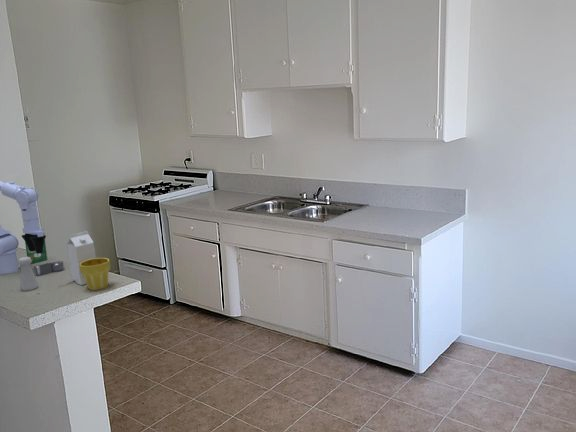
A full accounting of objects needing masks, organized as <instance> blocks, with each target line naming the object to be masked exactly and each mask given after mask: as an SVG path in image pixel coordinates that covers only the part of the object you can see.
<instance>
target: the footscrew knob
mask: <svg viewBox="0 0 576 432" xmlns="http://www.w3.org/2000/svg"><path fill="white" fill-rule="evenodd" d="M64 270H65V265H64V261H60V260H59V261H54V262H47V263H43V264H40V265H39V264H38V265H34V275H35V277H36V276H37V277H38V276H39V277H40V276H42V275H46V274H50V273H58V272H63V271H64Z"/></svg>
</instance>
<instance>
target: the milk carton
mask: <svg viewBox="0 0 576 432" xmlns="http://www.w3.org/2000/svg"><path fill="white" fill-rule="evenodd" d="M94 243H95V242H94V240H93V239H92V238H91V236H90V234H89V231H87V230H85V231H81V232H77V233H73V234H72V233H71V234H69V239H68V241H67V243H66V247H67V253H68V254H67V255H68V260H69V266H70V267H69V268H70V274H71V279H72V283H74V284H77V285H80V286H83V285H87V283H86V280H85V278H84V276H83V274H81V271H80V266H79V264H80V263H81V262H83V261H85V260H89V259H94V258H97V257H96V250H95V244H94Z"/></svg>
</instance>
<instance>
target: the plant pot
mask: <svg viewBox="0 0 576 432" xmlns="http://www.w3.org/2000/svg"><path fill="white" fill-rule="evenodd" d="M79 266H80V271H81V274H83V276H84V278H85V280H86V283H87V284H86V285H87V286H86V287H88V289H89V290H90V291H100V290H103V289H106V288H107V287H108V285H109V271H110V269H111V261H110V259H109V257H108V258H107V257H96V258H94V259H89V260H85V261H83V262H81V263H80V264H79Z"/></svg>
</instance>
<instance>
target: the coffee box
mask: <svg viewBox="0 0 576 432" xmlns="http://www.w3.org/2000/svg"><path fill="white" fill-rule="evenodd" d="M43 235H45V233H44V232H43ZM24 242H25V241H24ZM24 245H25V250H26V251H25V252H26V257H30V258H31V260H32V263H30V264H31V265H35V264H38V263H41V262H46V261H48V260H49V259H48V253H47V252H48V251H47V246H46V245H47V244H46V239H45V240H44V244H43V252H42V253H39V254H37V253H36V251H31V252H30V251H29V249H28V246H27V244H26V242H25V243H24Z"/></svg>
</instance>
